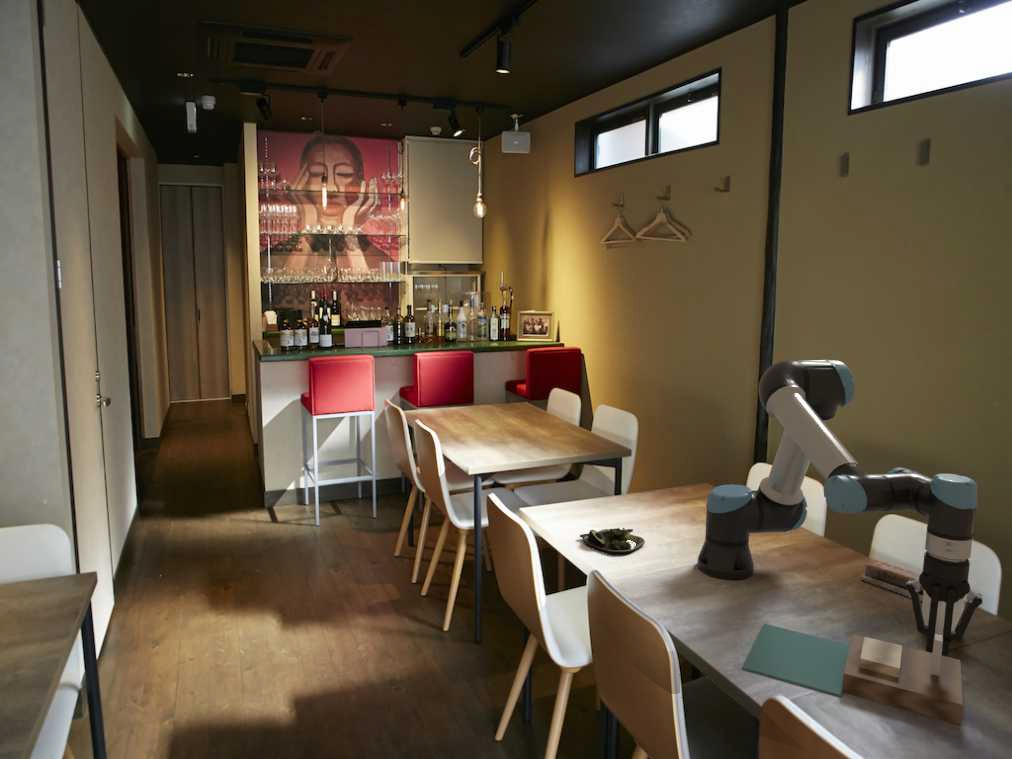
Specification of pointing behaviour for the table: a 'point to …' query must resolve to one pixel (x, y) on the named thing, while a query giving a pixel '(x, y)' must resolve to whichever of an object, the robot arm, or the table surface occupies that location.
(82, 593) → the table surface
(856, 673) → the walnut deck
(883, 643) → the maple tile
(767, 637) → the teal mat
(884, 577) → the packaged product
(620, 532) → the salad plate
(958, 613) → the jar
